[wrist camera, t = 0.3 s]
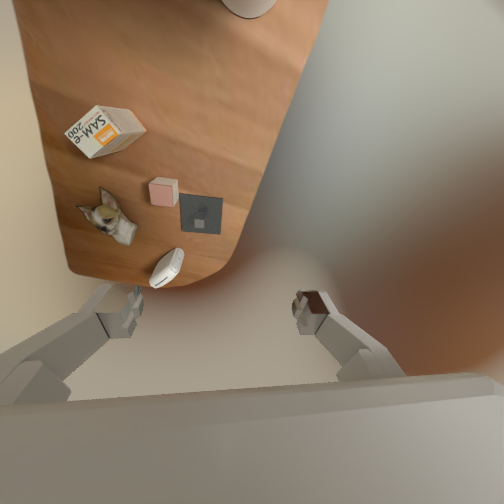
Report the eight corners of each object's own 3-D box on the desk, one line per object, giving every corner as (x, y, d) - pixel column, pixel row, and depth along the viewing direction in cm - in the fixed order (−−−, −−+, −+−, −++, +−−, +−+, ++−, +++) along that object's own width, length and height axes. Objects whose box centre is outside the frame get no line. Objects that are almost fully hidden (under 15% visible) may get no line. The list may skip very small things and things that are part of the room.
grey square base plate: (180, 193, 51) (175, 200, 46) (222, 198, 53) (222, 205, 48) (182, 230, 58) (178, 240, 53) (220, 233, 60) (219, 243, 55)
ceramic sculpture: (111, 257, 50) (56, 214, 43) (127, 242, 58) (81, 203, 50) (139, 239, 48) (86, 190, 41) (151, 226, 56) (108, 182, 48)
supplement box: (130, 108, 39) (95, 102, 29) (148, 131, 42) (121, 133, 31) (104, 130, 41) (61, 132, 30) (122, 151, 44) (89, 160, 33)
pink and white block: (157, 176, 48) (148, 183, 42) (177, 179, 49) (171, 186, 43) (159, 196, 51) (151, 204, 45) (178, 198, 52) (173, 207, 46)
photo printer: (177, 244, 60) (167, 269, 50) (187, 252, 63) (179, 277, 53) (156, 260, 63) (143, 286, 53) (167, 267, 65) (156, 293, 55)
